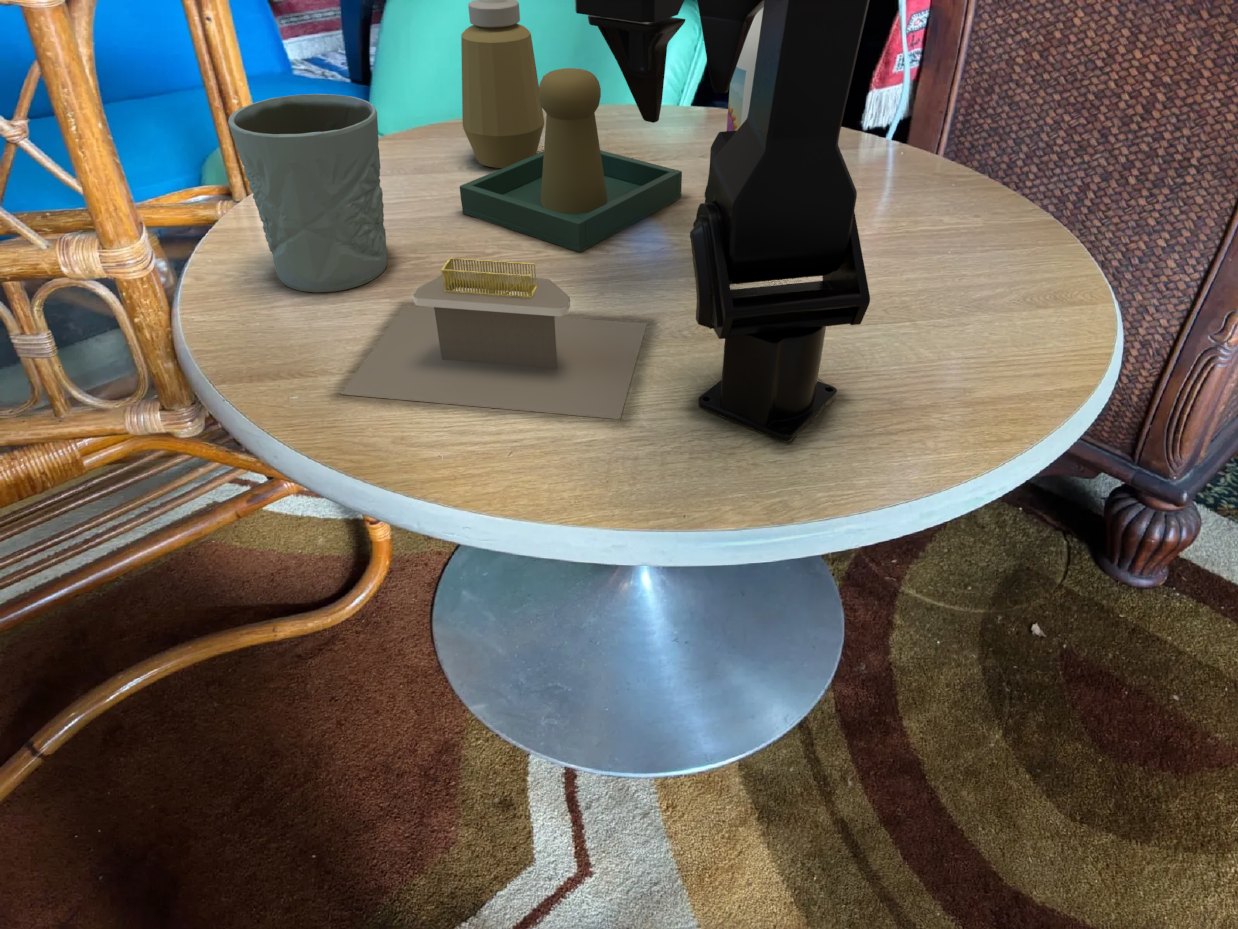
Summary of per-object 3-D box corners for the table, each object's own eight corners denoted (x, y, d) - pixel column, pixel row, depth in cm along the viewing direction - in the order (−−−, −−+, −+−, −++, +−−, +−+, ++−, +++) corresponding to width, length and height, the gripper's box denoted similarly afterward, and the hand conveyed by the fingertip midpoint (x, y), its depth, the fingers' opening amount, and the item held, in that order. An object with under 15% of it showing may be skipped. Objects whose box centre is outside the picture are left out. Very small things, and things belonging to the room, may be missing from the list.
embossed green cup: (246, 268, 71) (201, 113, 64) (354, 230, 77) (325, 83, 70) (316, 310, 66) (276, 145, 58) (427, 265, 71) (403, 109, 64)
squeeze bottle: (543, 174, 87) (531, -36, 76) (460, 174, 87) (436, -35, 76) (549, 146, 93) (539, -51, 82) (472, 146, 94) (451, -51, 83)
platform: (405, 305, 66) (391, 220, 62) (646, 323, 64) (648, 236, 60) (340, 394, 57) (318, 301, 53) (619, 419, 55) (619, 324, 51)
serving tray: (580, 252, 73) (578, 223, 72) (462, 213, 80) (459, 185, 78) (681, 197, 82) (682, 170, 81) (568, 166, 89) (567, 140, 87)
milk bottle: (818, 178, 86) (849, -62, 74) (784, 204, 81) (812, -48, 68) (745, 163, 89) (764, -69, 77) (708, 188, 84) (722, -57, 72)
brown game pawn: (599, 215, 78) (596, 83, 71) (532, 211, 79) (523, 79, 72) (613, 190, 82) (612, 63, 76) (550, 185, 83) (543, 59, 77)
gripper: (728, -139, 47) (712, 161, 56) (878, -156, 58) (844, 94, 68) (563, -145, 52) (574, 130, 61) (731, -160, 64) (718, 73, 73)
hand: (687, 106), depth 66 cm, fingers open, 9 cm apart
